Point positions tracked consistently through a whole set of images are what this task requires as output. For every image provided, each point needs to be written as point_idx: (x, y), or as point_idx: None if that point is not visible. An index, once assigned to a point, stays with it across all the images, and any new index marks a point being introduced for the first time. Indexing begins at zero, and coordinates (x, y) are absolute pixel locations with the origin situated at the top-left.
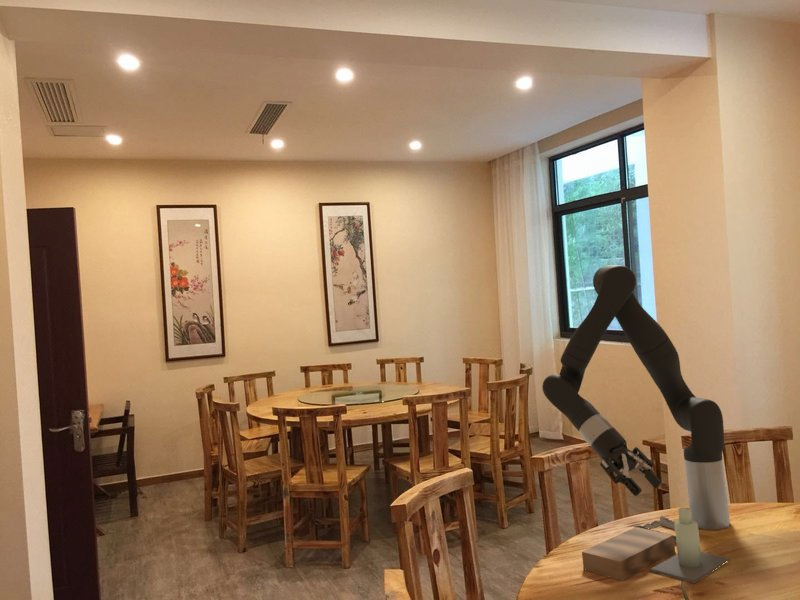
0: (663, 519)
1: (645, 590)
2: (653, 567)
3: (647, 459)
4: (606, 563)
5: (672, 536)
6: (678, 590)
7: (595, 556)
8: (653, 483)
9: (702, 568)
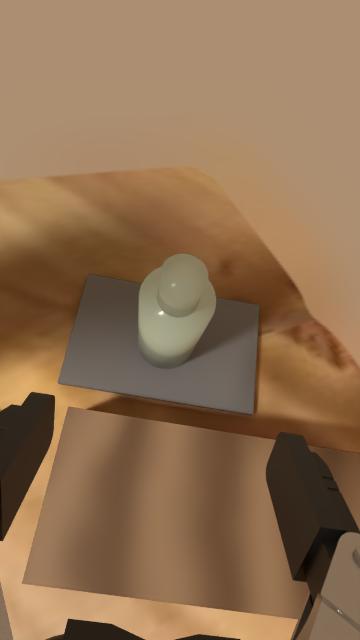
0: None
1: (354, 382)
2: (240, 411)
3: None
4: None
5: (76, 408)
6: (309, 323)
7: None
8: (40, 449)
9: None
